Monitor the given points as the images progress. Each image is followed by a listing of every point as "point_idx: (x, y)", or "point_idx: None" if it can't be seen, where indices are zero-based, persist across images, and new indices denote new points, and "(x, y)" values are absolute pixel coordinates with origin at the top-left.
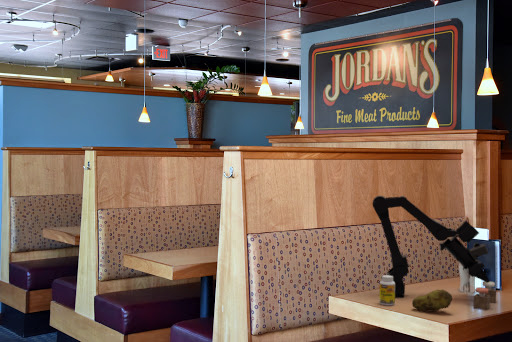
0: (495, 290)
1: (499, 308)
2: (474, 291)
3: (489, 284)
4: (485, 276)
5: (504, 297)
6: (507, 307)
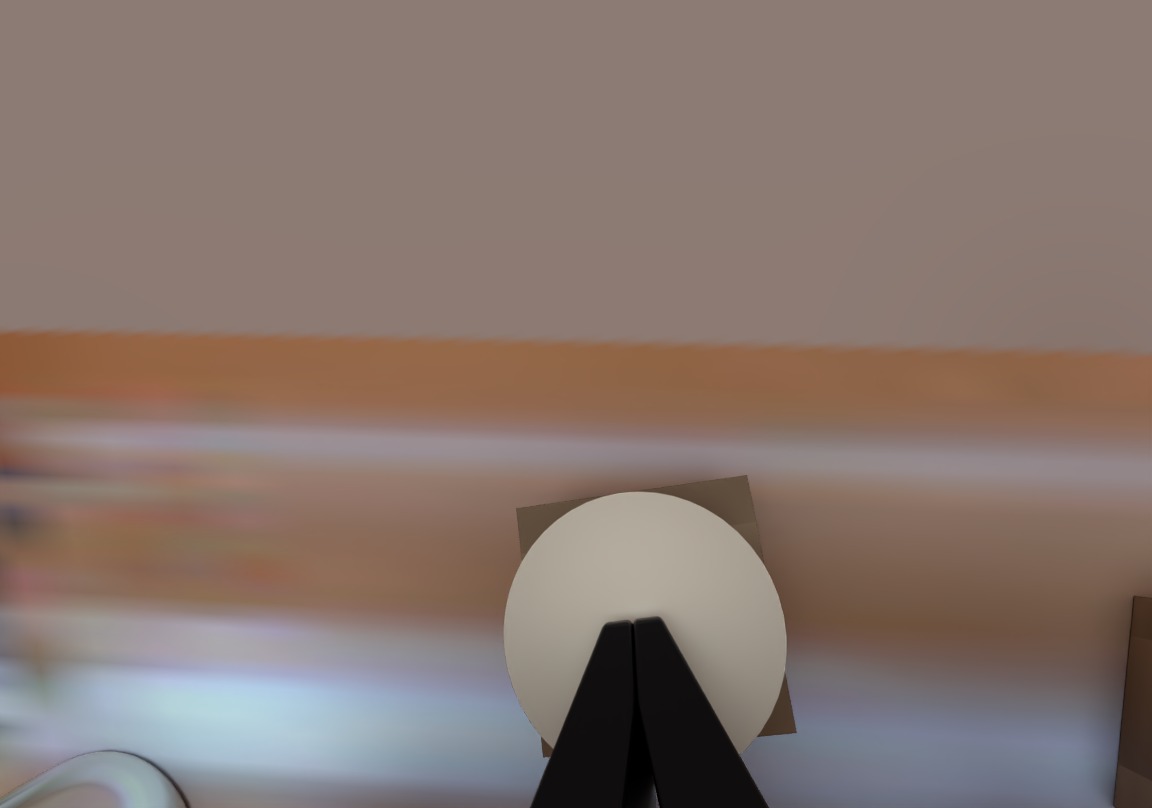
0: (700, 486)
1: (1100, 456)
2: (142, 770)
3: (778, 620)
4: (756, 795)
5: (342, 371)
6: (963, 349)
